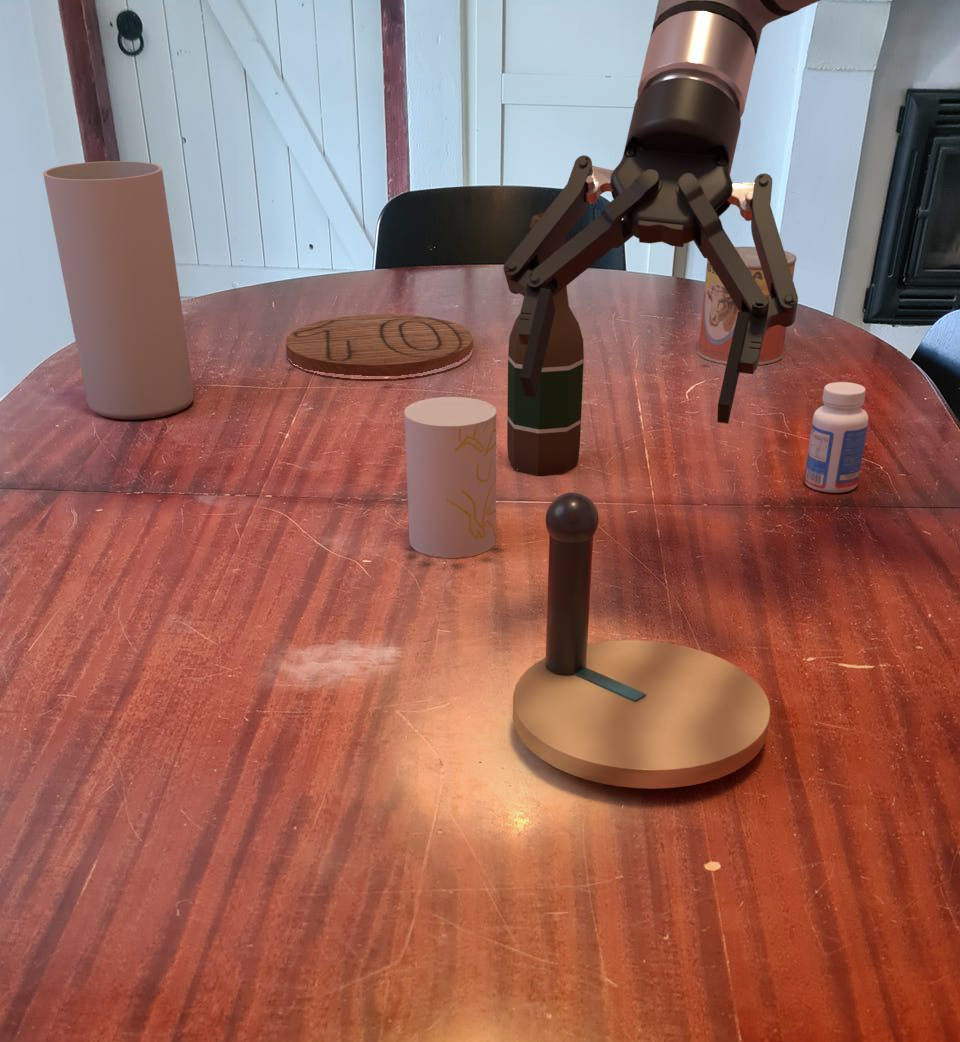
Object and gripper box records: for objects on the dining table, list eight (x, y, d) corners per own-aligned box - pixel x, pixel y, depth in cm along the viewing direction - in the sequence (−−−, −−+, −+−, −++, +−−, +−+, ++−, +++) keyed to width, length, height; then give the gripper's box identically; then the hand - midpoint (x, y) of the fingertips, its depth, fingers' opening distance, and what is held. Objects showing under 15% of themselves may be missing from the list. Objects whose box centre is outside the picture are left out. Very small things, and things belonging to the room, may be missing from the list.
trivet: (298, 387, 154) (297, 371, 153) (277, 334, 173) (275, 320, 172) (492, 372, 158) (492, 357, 157) (450, 323, 178) (450, 309, 177)
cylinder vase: (171, 383, 155) (137, 157, 140) (211, 409, 147) (179, 172, 132) (74, 400, 150) (28, 167, 135) (110, 429, 142) (65, 184, 126)
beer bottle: (582, 453, 135) (594, 208, 120) (574, 478, 129) (585, 224, 114) (512, 449, 136) (515, 206, 121) (501, 474, 130) (502, 222, 115)
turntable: (775, 672, 93) (805, 484, 84) (757, 805, 79) (791, 597, 70) (541, 645, 96) (547, 462, 88) (485, 768, 83) (485, 565, 74)
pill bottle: (856, 477, 129) (874, 381, 123) (857, 496, 124) (875, 397, 118) (803, 473, 130) (818, 377, 124) (802, 492, 125) (817, 394, 119)
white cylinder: (468, 564, 112) (467, 431, 104) (392, 547, 115) (386, 417, 108) (511, 533, 117) (512, 405, 110) (437, 517, 120) (434, 391, 113)
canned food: (680, 353, 165) (688, 255, 158) (733, 337, 171) (744, 242, 164) (747, 371, 159) (759, 270, 151) (800, 354, 165) (814, 256, 157)
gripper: (864, 163, 87) (803, 449, 86) (522, 130, 92) (459, 401, 90) (879, 87, 80) (813, 399, 78) (507, 56, 84) (438, 350, 83)
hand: (623, 401), depth 84 cm, fingers open, 13 cm apart
